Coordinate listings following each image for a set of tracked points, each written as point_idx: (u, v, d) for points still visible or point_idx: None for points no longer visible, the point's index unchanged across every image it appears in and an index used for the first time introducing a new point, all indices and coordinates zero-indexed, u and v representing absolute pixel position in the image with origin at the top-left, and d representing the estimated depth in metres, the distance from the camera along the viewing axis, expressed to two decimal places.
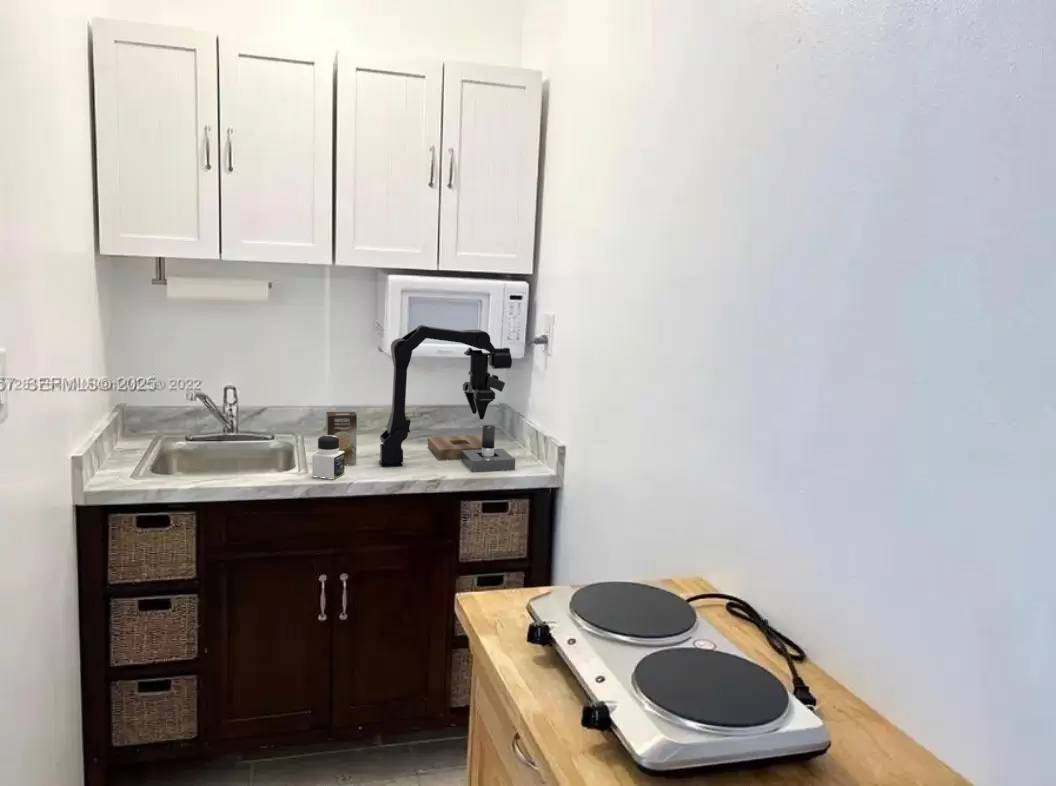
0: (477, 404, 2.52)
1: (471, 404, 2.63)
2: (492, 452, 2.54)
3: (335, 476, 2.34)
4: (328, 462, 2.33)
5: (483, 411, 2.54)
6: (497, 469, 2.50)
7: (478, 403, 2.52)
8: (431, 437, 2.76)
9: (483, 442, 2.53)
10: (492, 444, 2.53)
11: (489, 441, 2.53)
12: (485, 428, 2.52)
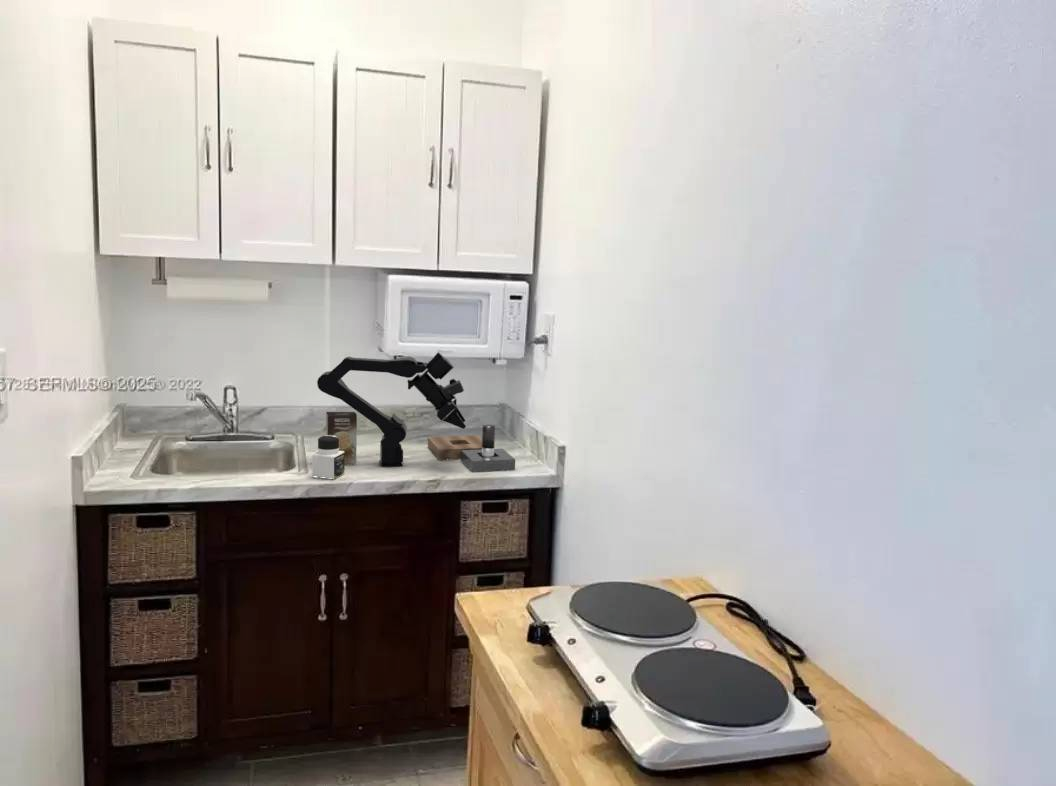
0: (448, 421, 2.46)
1: None
2: (492, 452, 2.54)
3: (335, 476, 2.34)
4: (328, 462, 2.33)
5: (459, 421, 2.47)
6: (497, 469, 2.50)
7: (448, 419, 2.46)
8: (431, 437, 2.76)
9: (483, 442, 2.53)
10: (492, 444, 2.53)
11: (489, 441, 2.53)
12: (485, 428, 2.52)
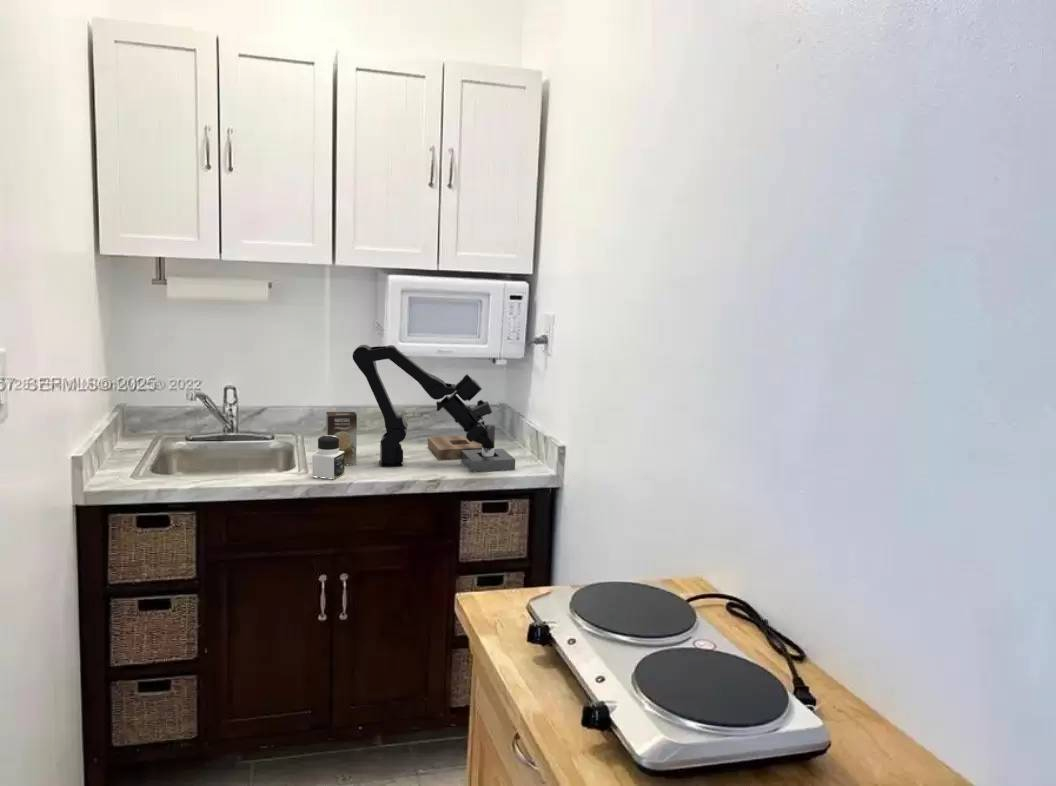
0: (477, 441, 2.50)
1: None
2: (492, 452, 2.54)
3: (335, 476, 2.34)
4: (328, 462, 2.33)
5: (487, 441, 2.51)
6: (497, 469, 2.50)
7: (477, 439, 2.50)
8: (431, 437, 2.76)
9: None
10: None
11: None
12: None
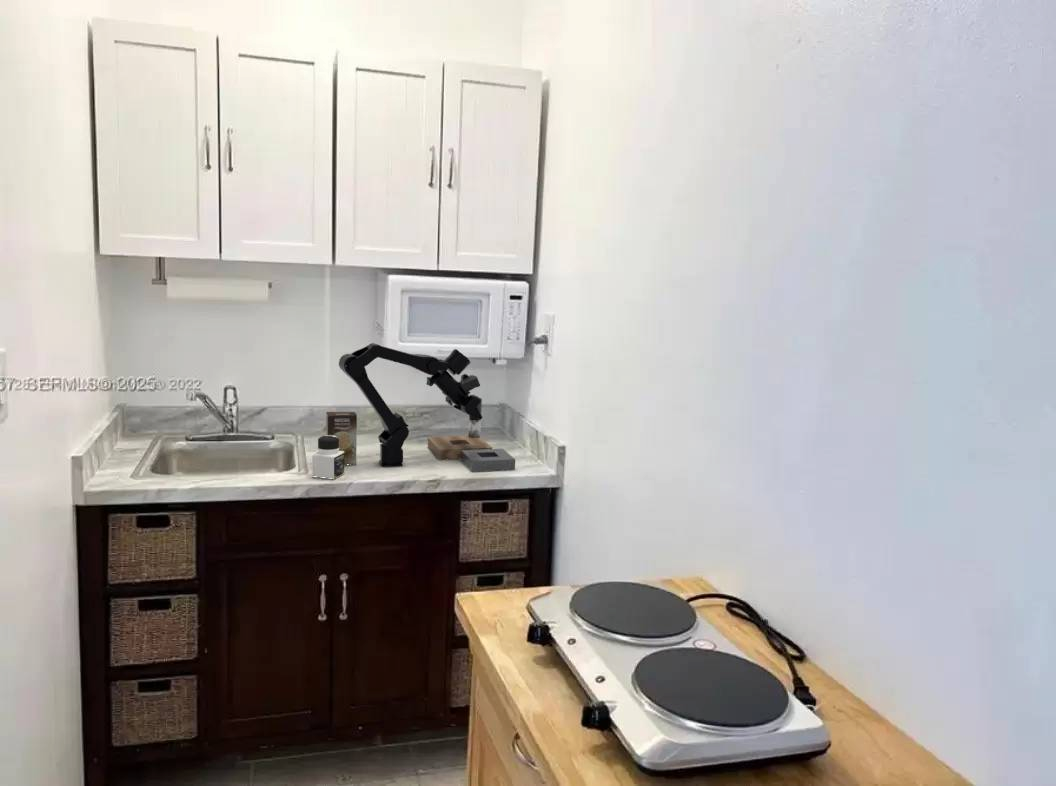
0: None
1: None
2: (480, 423, 2.63)
3: (335, 476, 2.34)
4: (328, 462, 2.33)
5: (477, 413, 2.60)
6: (497, 469, 2.50)
7: None
8: (431, 437, 2.76)
9: None
10: None
11: None
12: None
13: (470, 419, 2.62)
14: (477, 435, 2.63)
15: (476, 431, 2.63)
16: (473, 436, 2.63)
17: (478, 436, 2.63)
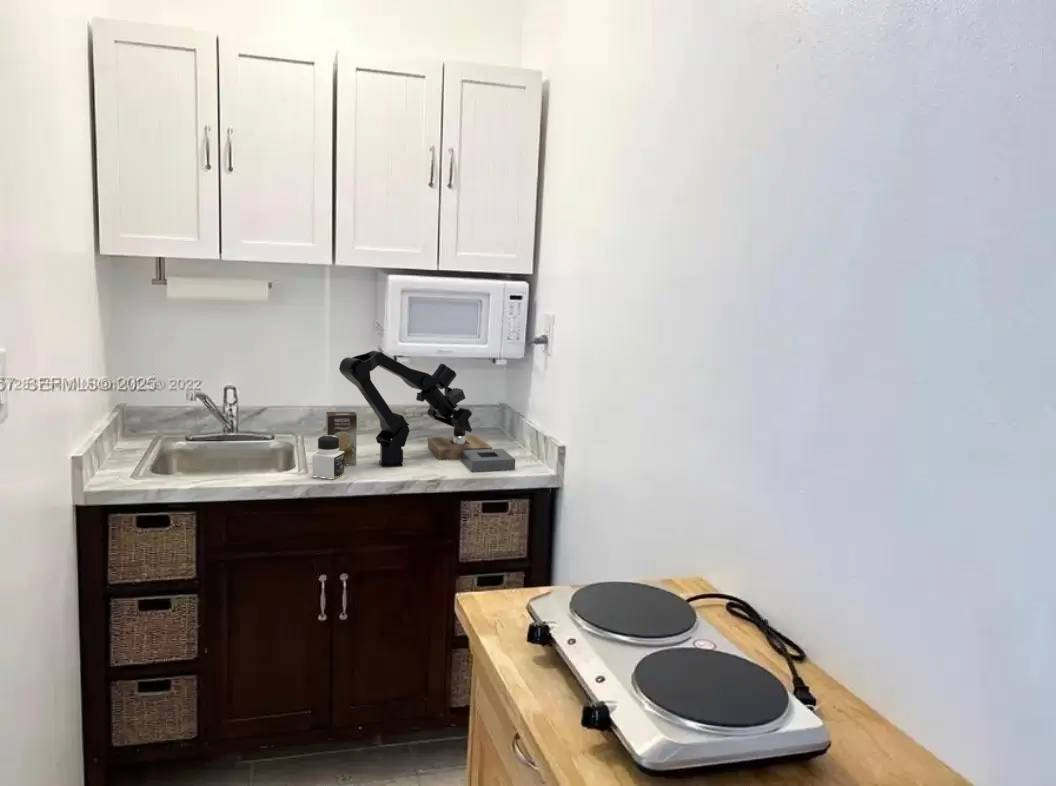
0: (461, 427, 2.62)
1: (448, 423, 2.72)
2: None
3: (335, 476, 2.34)
4: (328, 462, 2.33)
5: (468, 426, 2.65)
6: (497, 469, 2.50)
7: (461, 425, 2.62)
8: (431, 437, 2.76)
9: (457, 431, 2.68)
10: None
11: None
12: None
13: (455, 435, 2.69)
14: None
15: None
16: None
17: None
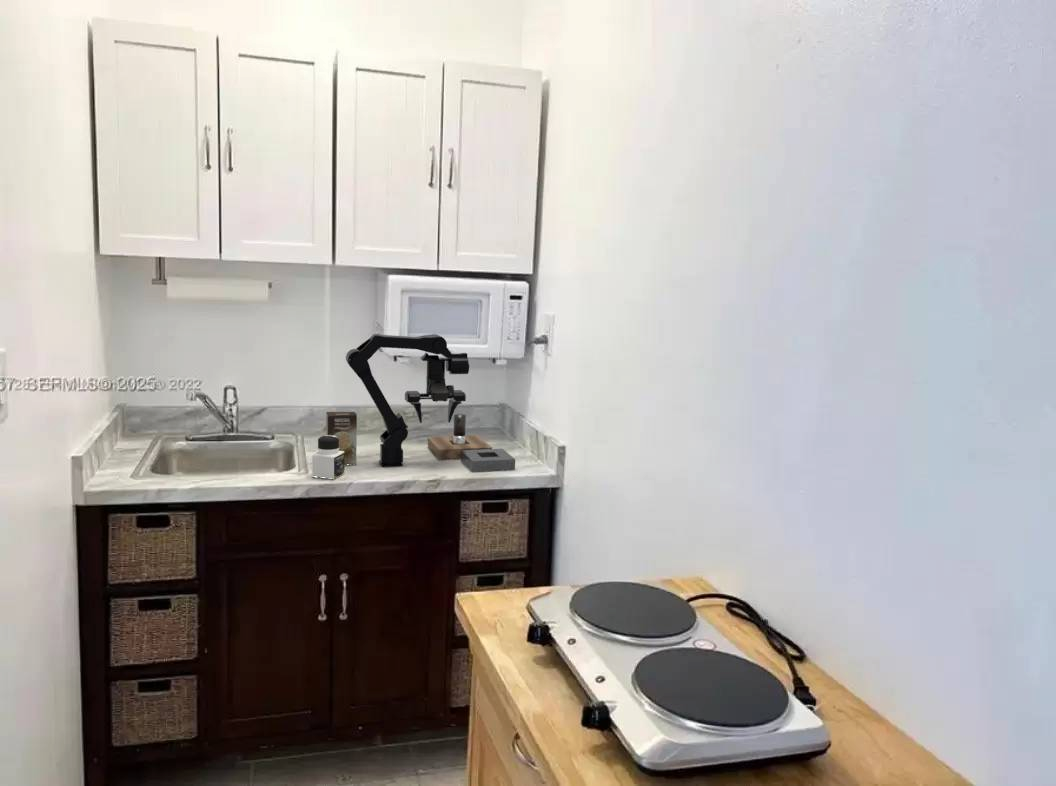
0: (414, 405, 2.54)
1: (448, 412, 2.57)
2: (464, 439, 2.70)
3: (335, 476, 2.34)
4: (328, 462, 2.33)
5: (417, 414, 2.53)
6: (497, 469, 2.50)
7: (414, 405, 2.54)
8: (431, 437, 2.76)
9: (457, 431, 2.68)
10: None
11: (463, 429, 2.68)
12: (459, 417, 2.67)
13: (455, 435, 2.69)
14: None
15: None
16: None
17: None
